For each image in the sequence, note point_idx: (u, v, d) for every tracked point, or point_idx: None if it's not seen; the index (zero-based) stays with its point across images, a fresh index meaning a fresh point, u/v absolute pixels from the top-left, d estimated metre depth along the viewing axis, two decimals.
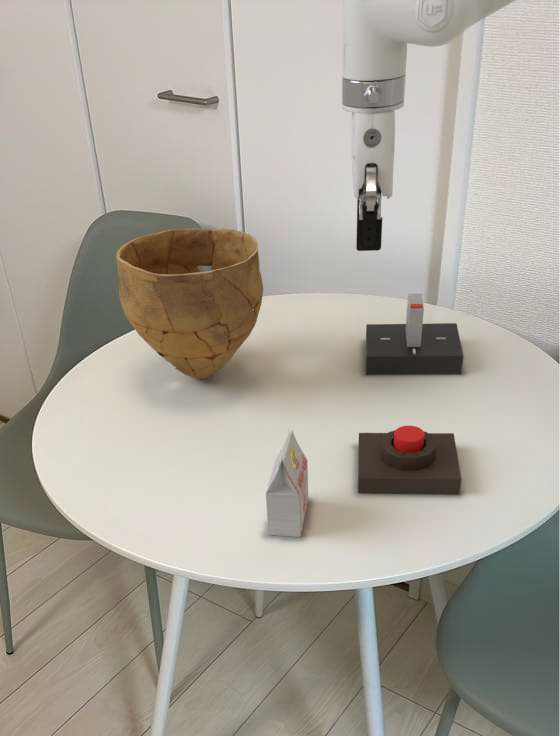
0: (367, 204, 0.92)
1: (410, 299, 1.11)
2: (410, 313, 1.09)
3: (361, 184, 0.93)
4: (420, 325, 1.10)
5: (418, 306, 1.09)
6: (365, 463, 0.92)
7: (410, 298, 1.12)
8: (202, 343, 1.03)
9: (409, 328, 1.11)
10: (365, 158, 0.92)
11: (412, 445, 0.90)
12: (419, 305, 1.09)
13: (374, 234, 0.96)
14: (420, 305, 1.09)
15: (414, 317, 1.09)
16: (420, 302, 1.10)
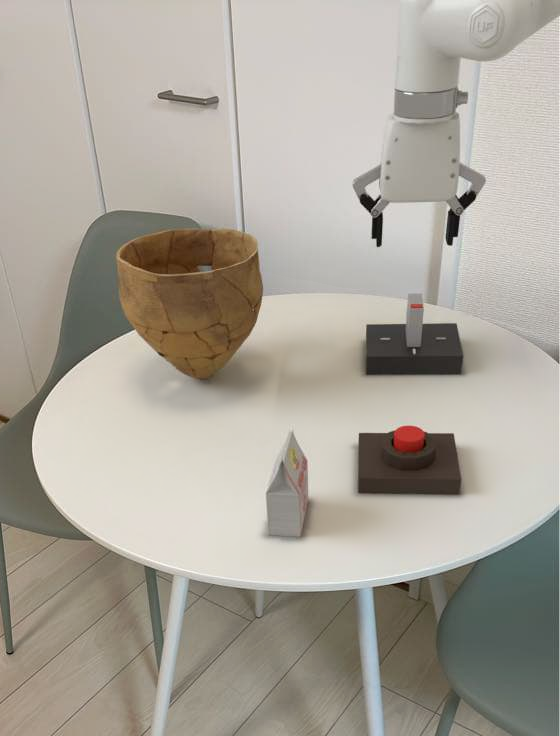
0: (479, 191, 0.99)
1: (410, 299, 1.11)
2: (410, 313, 1.09)
3: None
4: (420, 325, 1.10)
5: (418, 306, 1.09)
6: (365, 463, 0.92)
7: (410, 298, 1.12)
8: (202, 343, 1.03)
9: (409, 328, 1.11)
10: (459, 157, 0.97)
11: (412, 445, 0.90)
12: (419, 305, 1.09)
13: None
14: (420, 305, 1.09)
15: (414, 317, 1.09)
16: (420, 302, 1.10)
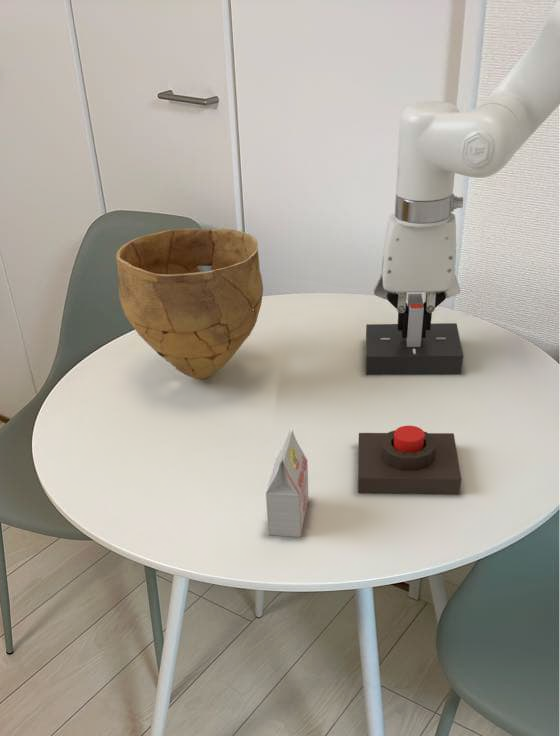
0: None
1: (410, 299, 1.11)
2: (410, 313, 1.09)
3: None
4: (420, 325, 1.10)
5: (418, 306, 1.09)
6: (365, 463, 0.92)
7: (410, 298, 1.12)
8: (202, 343, 1.03)
9: (409, 328, 1.11)
10: None
11: (412, 445, 0.90)
12: (419, 305, 1.09)
13: None
14: (420, 305, 1.09)
15: (414, 317, 1.09)
16: (420, 302, 1.10)
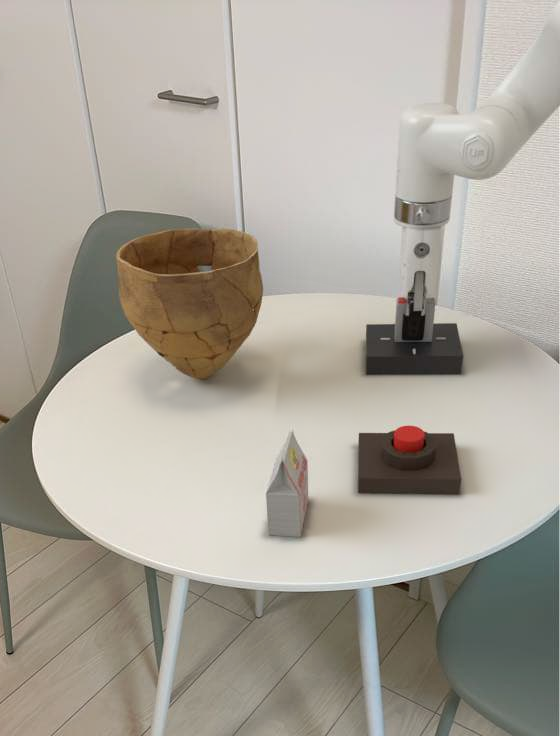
0: None
1: None
2: (396, 303, 1.12)
3: None
4: (395, 319, 1.12)
5: (399, 300, 1.11)
6: (365, 463, 0.92)
7: None
8: (202, 343, 1.03)
9: (395, 318, 1.14)
10: (415, 266, 1.03)
11: (412, 445, 0.90)
12: (401, 300, 1.10)
13: (418, 328, 1.11)
14: (401, 301, 1.10)
15: (396, 309, 1.12)
16: (412, 302, 1.10)
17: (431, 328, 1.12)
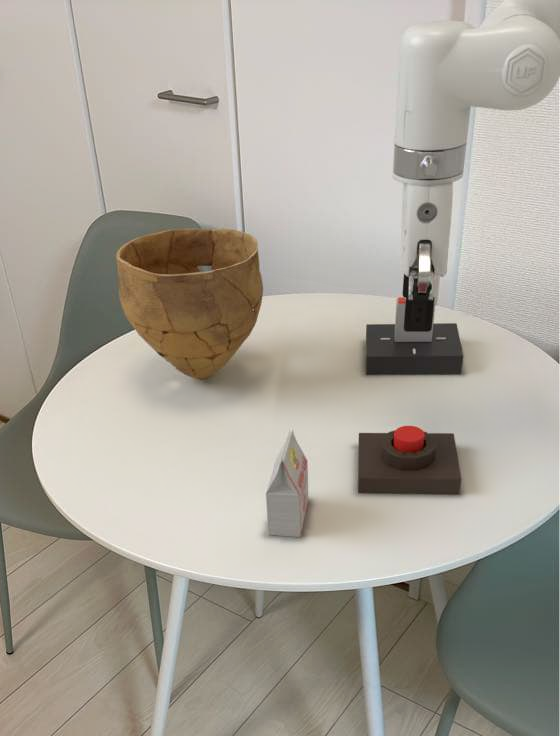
0: (419, 285, 0.82)
1: None
2: (396, 303, 1.12)
3: (412, 262, 0.83)
4: (395, 319, 1.12)
5: (399, 300, 1.11)
6: (365, 463, 0.92)
7: None
8: (202, 343, 1.03)
9: (395, 318, 1.14)
10: (418, 234, 0.81)
11: (412, 445, 0.90)
12: (401, 300, 1.10)
13: (425, 315, 0.86)
14: (401, 301, 1.10)
15: (396, 309, 1.12)
16: None
17: None
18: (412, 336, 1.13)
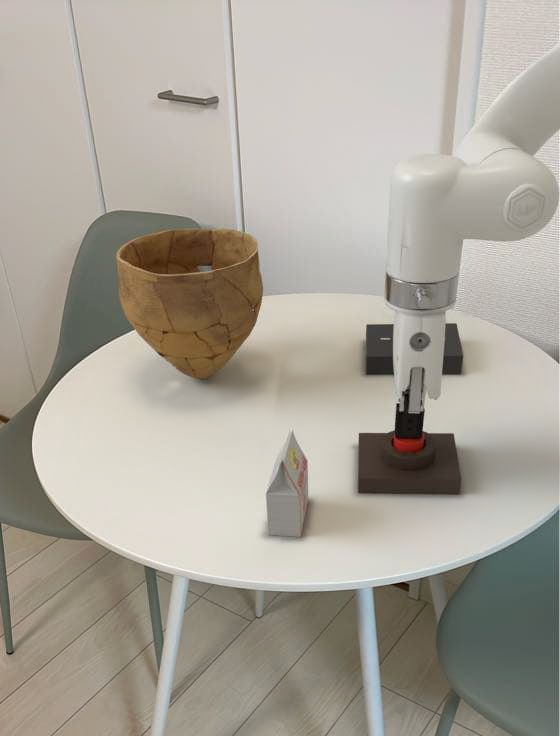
0: None
1: None
2: None
3: None
4: None
5: None
6: (365, 463, 0.92)
7: None
8: (202, 343, 1.03)
9: None
10: (411, 361, 0.79)
11: (412, 447, 0.90)
12: None
13: (415, 425, 0.88)
14: None
15: None
16: None
17: None
18: None
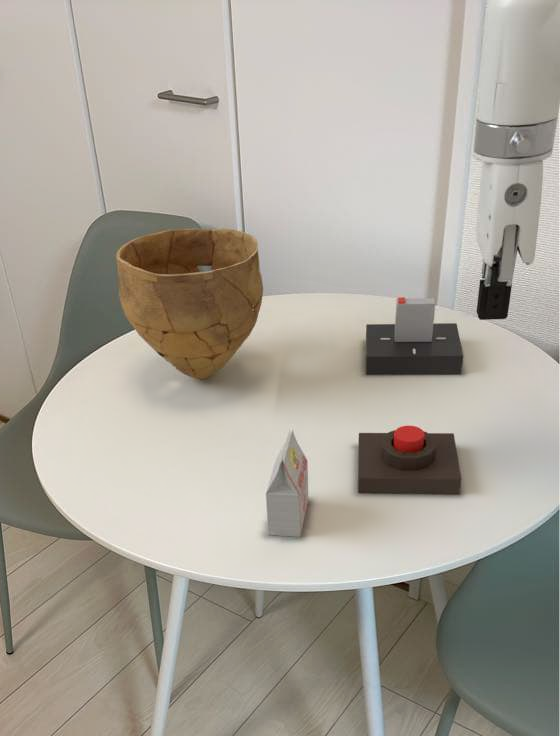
0: None
1: (419, 298, 1.11)
2: (396, 303, 1.12)
3: None
4: (395, 319, 1.12)
5: (399, 300, 1.11)
6: (365, 463, 0.92)
7: (422, 298, 1.11)
8: (202, 343, 1.03)
9: (395, 318, 1.14)
10: (505, 219, 0.74)
11: (412, 445, 0.90)
12: (401, 300, 1.10)
13: (502, 302, 0.83)
14: (401, 301, 1.10)
15: (396, 309, 1.12)
16: (412, 302, 1.10)
17: (431, 328, 1.12)
18: (412, 336, 1.13)
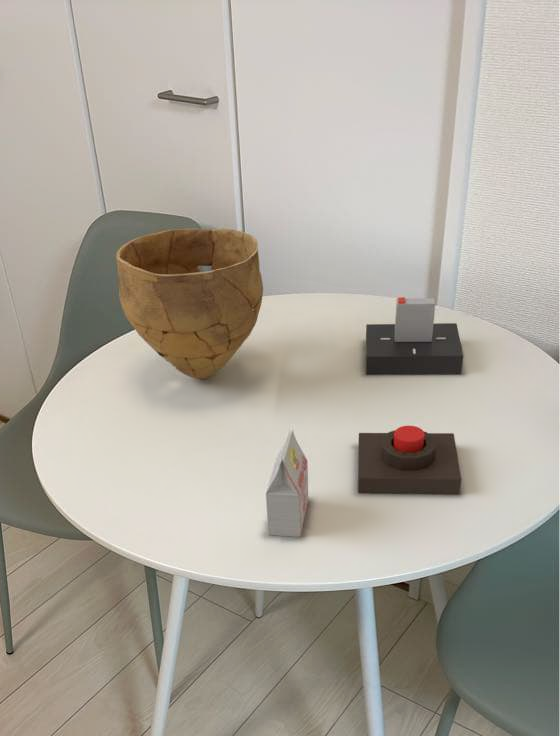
0: None
1: (419, 298, 1.11)
2: (396, 303, 1.12)
3: None
4: (395, 319, 1.12)
5: (399, 300, 1.11)
6: (365, 463, 0.92)
7: (422, 298, 1.11)
8: (202, 343, 1.03)
9: (395, 318, 1.14)
10: None
11: (412, 445, 0.90)
12: (401, 300, 1.10)
13: None
14: (401, 301, 1.10)
15: (396, 309, 1.12)
16: (412, 302, 1.10)
17: (431, 328, 1.12)
18: (412, 336, 1.13)
